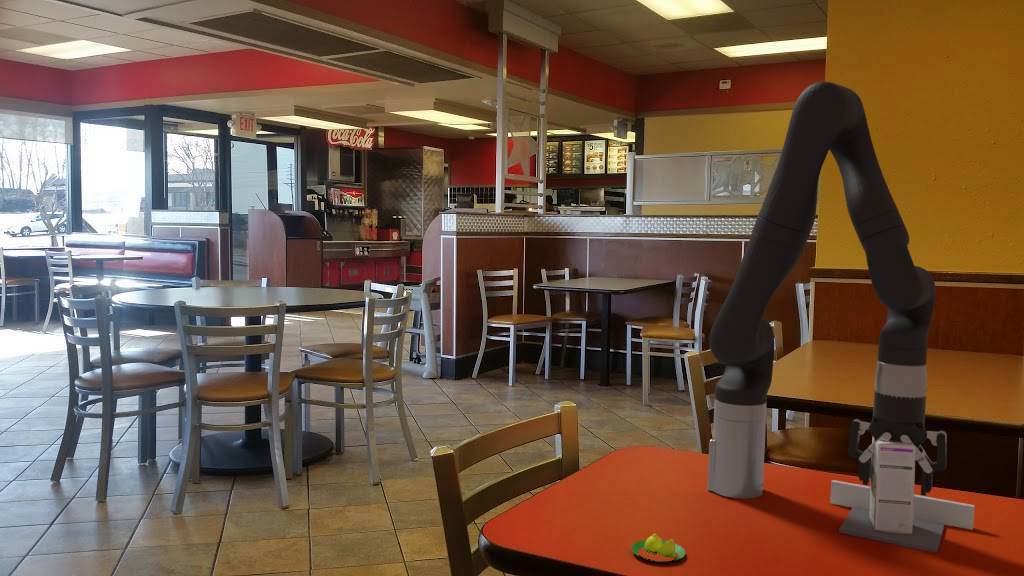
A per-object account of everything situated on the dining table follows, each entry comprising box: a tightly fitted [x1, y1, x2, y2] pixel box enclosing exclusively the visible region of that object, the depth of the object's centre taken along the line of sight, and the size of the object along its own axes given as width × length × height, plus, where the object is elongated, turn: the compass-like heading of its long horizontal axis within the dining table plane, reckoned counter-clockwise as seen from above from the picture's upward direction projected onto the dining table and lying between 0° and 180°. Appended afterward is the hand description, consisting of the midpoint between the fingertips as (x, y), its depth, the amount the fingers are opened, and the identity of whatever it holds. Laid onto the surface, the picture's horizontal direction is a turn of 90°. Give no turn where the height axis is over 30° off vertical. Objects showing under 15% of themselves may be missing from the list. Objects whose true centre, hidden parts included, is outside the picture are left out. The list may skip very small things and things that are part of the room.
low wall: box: [829, 479, 975, 531], centre depth 136 cm, size 22×1×4 cm, turn 57°
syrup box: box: [869, 436, 916, 534], centre depth 129 cm, size 6×6×14 cm
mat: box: [838, 507, 945, 554], centre depth 129 cm, size 14×12×1 cm
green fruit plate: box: [630, 533, 686, 563], centre depth 119 cm, size 8×8×3 cm
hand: (894, 489), depth 129 cm, fingers open, 8 cm apart
